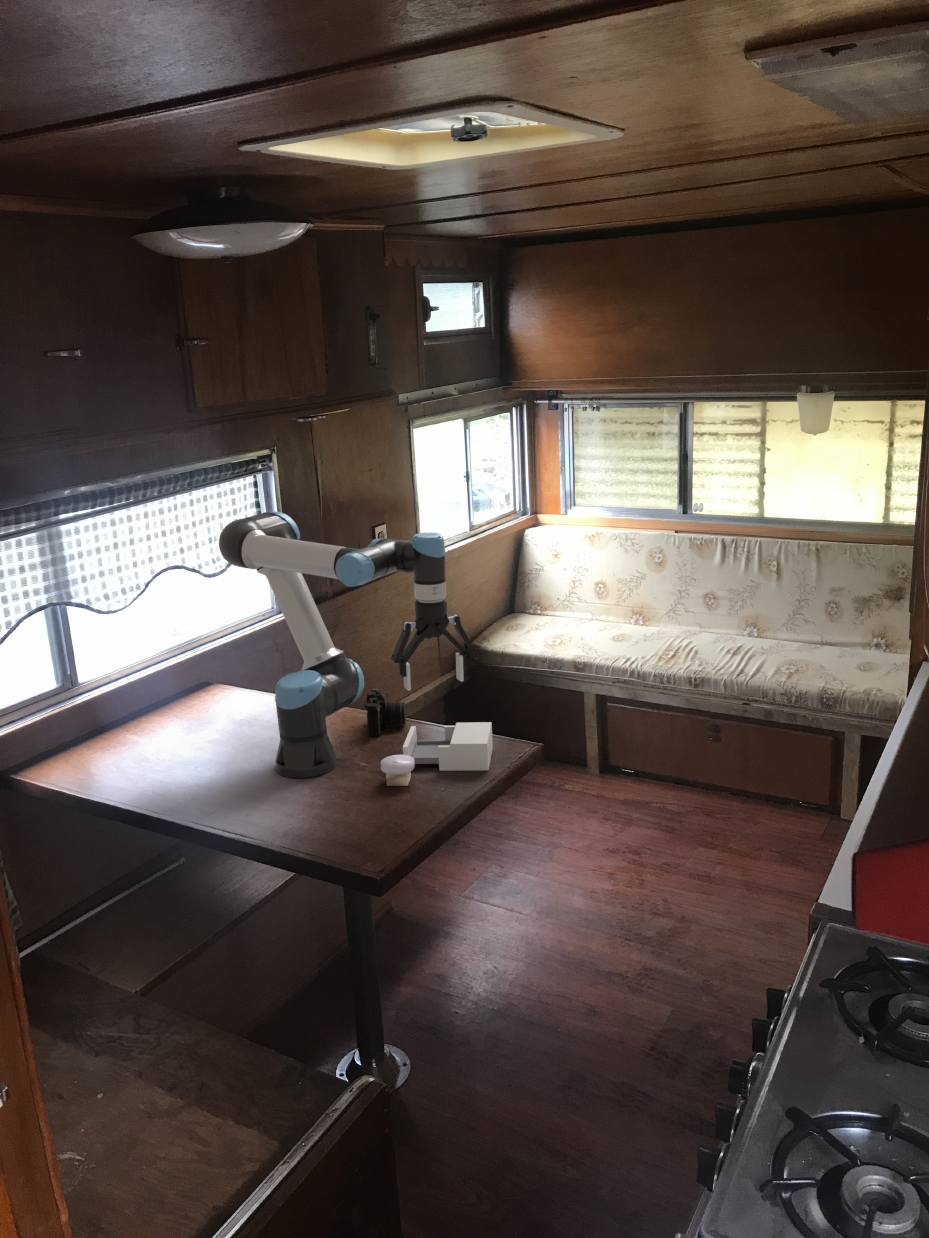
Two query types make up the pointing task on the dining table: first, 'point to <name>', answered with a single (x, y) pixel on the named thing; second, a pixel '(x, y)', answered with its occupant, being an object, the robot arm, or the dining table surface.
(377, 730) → the camera
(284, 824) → the dining table surface
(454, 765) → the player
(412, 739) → the tray
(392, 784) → the beige block
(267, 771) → the dining table surface
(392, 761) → the lid
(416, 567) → the robot arm
